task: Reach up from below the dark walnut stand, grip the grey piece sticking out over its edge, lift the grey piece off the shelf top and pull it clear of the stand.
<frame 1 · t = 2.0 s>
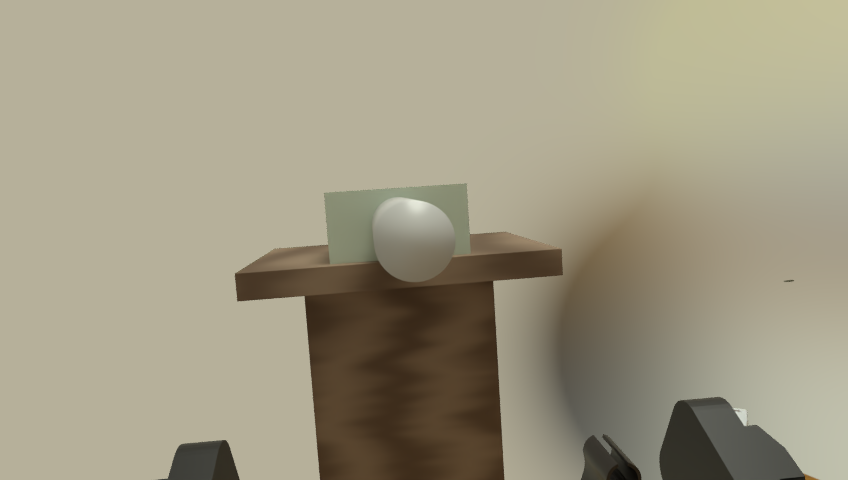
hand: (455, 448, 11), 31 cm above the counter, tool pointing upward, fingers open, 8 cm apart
grey piece: (397, 251, 38), point 32 cm above the counter, touching walnut stand
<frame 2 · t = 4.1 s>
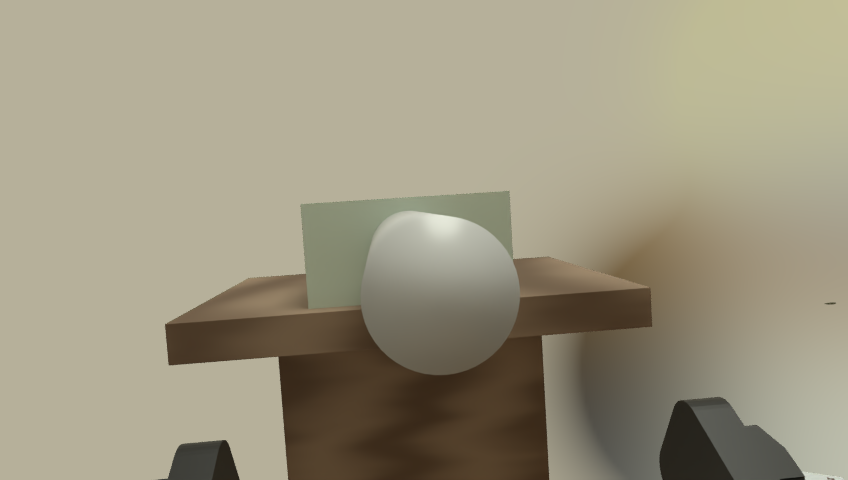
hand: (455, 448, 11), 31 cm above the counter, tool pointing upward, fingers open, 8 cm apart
grey piece: (408, 287, 27), point 32 cm above the counter, touching walnut stand
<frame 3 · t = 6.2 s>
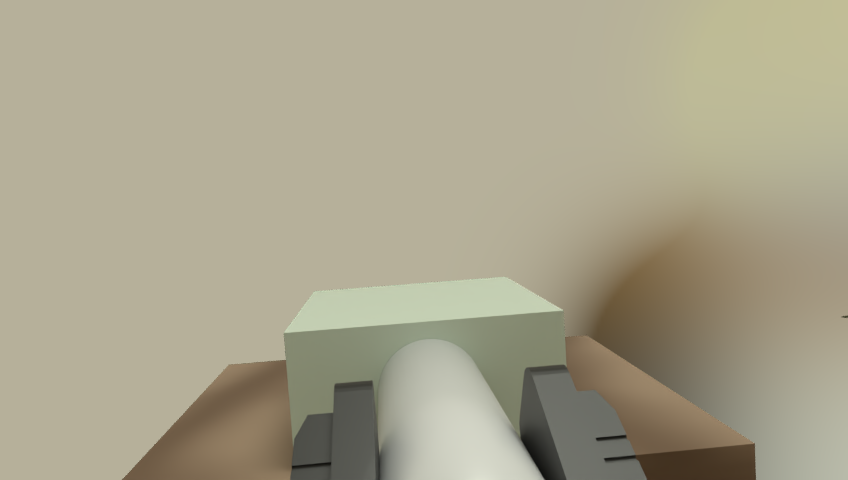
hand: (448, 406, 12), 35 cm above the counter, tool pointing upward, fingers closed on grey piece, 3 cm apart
grey piece: (424, 410, 21), point 32 cm above the counter, touching gripper, walnut stand
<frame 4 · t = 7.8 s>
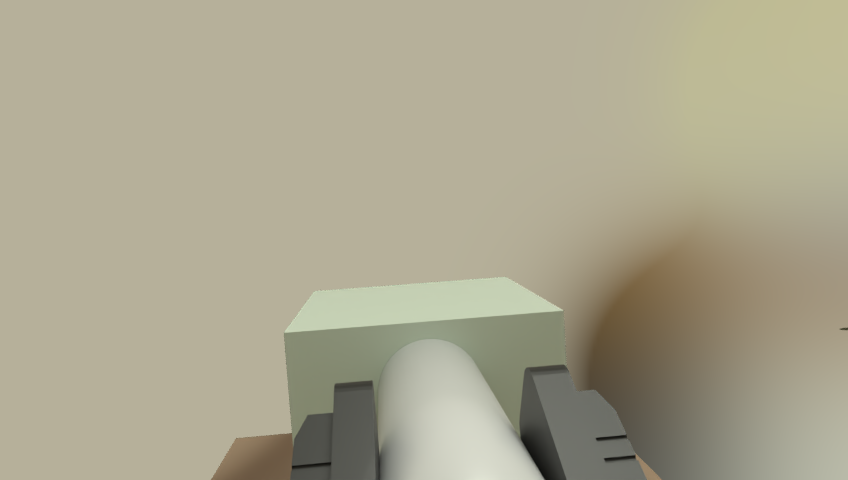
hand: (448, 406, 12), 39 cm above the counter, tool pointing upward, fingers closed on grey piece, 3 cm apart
grey piece: (424, 410, 21), point 36 cm above the counter, touching gripper
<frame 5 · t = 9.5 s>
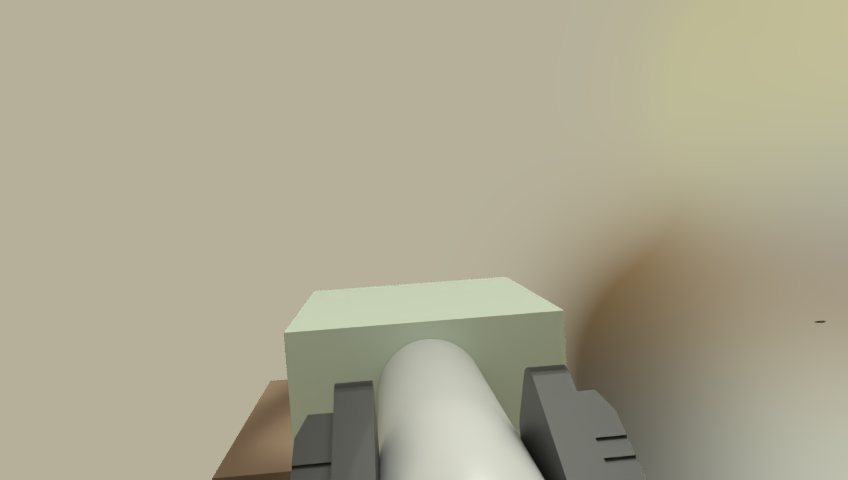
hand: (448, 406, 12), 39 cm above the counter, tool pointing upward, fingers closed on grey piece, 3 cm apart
grey piece: (424, 410, 21), point 36 cm above the counter, touching gripper
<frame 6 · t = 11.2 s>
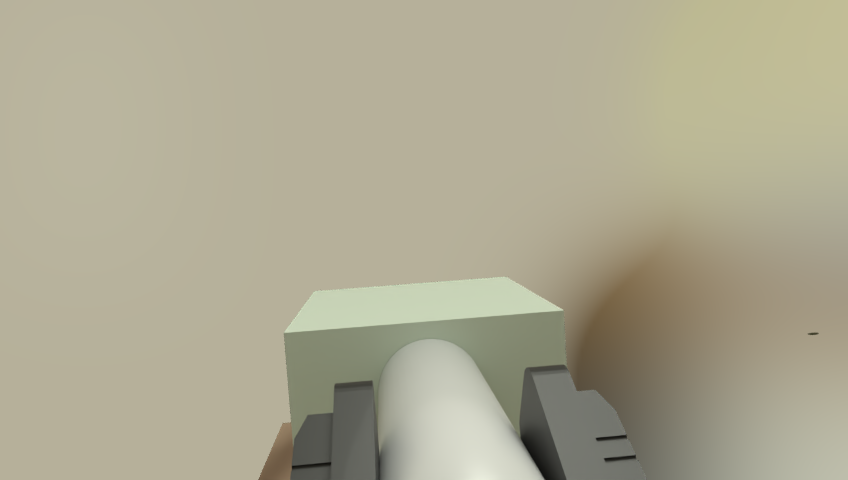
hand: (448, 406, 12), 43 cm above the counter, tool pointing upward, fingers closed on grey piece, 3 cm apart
grey piece: (424, 410, 21), point 40 cm above the counter, touching gripper
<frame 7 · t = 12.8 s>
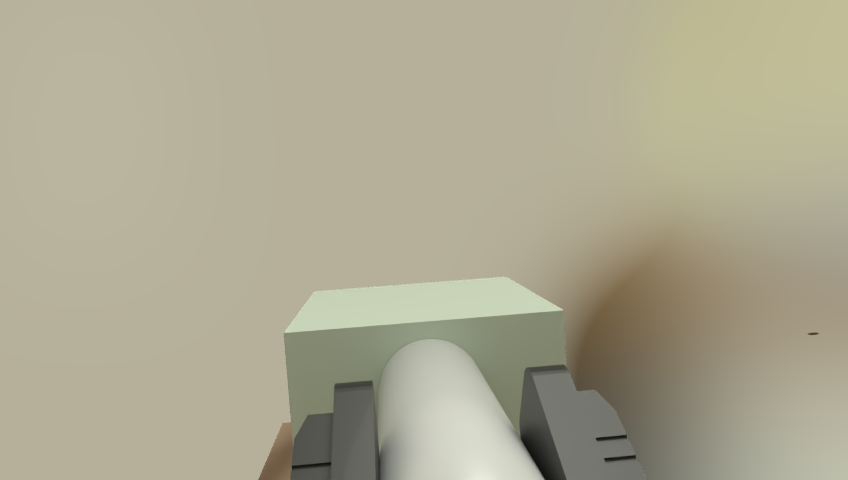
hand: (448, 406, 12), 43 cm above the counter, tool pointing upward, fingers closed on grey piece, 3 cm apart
grey piece: (424, 410, 21), point 40 cm above the counter, touching gripper
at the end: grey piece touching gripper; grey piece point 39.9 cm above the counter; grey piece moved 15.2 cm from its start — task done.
